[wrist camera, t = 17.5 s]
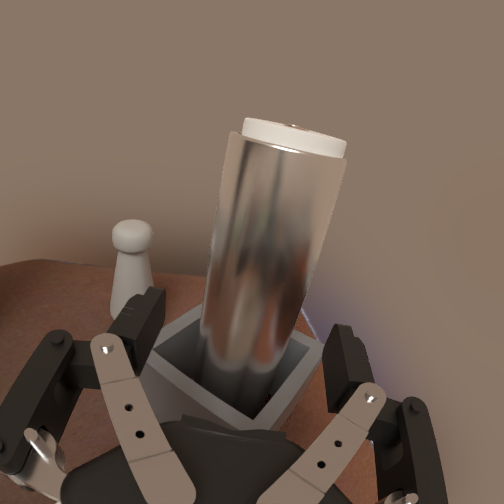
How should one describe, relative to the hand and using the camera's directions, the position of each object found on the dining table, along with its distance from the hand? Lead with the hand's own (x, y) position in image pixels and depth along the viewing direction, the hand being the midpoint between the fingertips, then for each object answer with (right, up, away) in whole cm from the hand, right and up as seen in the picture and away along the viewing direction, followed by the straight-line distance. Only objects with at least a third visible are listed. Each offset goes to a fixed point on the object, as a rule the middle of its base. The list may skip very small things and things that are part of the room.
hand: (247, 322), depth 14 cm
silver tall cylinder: (-2, -12, +13) cm, 18 cm away
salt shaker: (-14, -6, +20) cm, 25 cm away
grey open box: (-3, -12, +13) cm, 17 cm away
